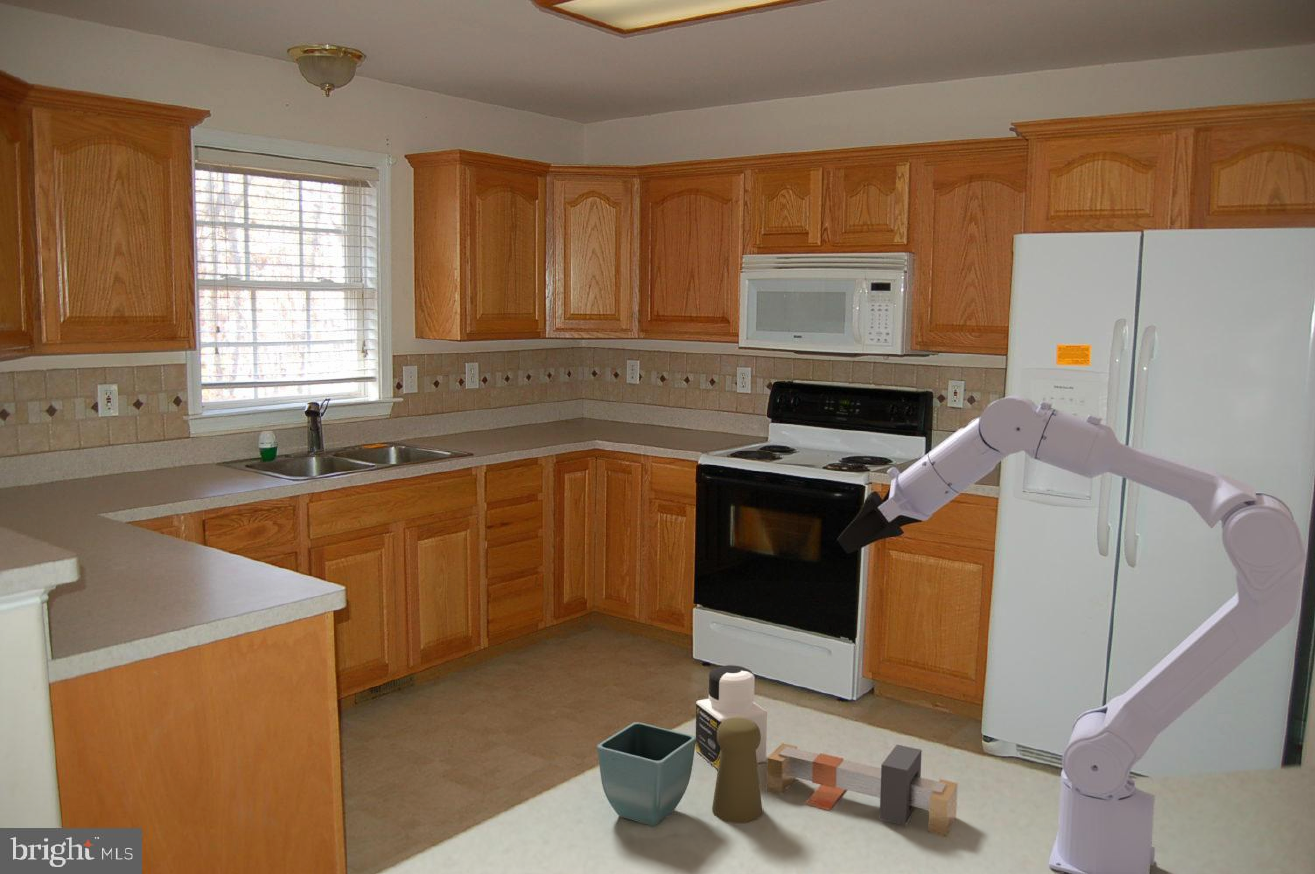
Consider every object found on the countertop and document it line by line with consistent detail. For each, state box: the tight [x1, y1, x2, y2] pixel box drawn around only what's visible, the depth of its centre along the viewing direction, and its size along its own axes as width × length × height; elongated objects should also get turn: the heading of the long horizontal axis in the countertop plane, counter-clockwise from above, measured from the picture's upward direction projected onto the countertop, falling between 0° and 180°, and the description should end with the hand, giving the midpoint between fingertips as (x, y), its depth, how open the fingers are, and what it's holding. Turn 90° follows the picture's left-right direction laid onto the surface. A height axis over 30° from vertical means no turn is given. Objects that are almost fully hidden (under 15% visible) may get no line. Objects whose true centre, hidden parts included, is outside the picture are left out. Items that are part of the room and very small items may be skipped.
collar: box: [879, 744, 923, 826], centre depth 115 cm, size 3×6×7 cm, turn 151°
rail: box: [766, 742, 958, 837], centre depth 118 cm, size 22×7×4 cm, turn 61°
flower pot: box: [596, 721, 696, 827], centre depth 115 cm, size 9×9×9 cm
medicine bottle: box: [695, 664, 768, 770], centre depth 130 cm, size 7×7×12 cm
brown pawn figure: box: [711, 717, 764, 824], centre depth 116 cm, size 6×6×11 cm
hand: (853, 540), depth 116 cm, fingers open, 7 cm apart
